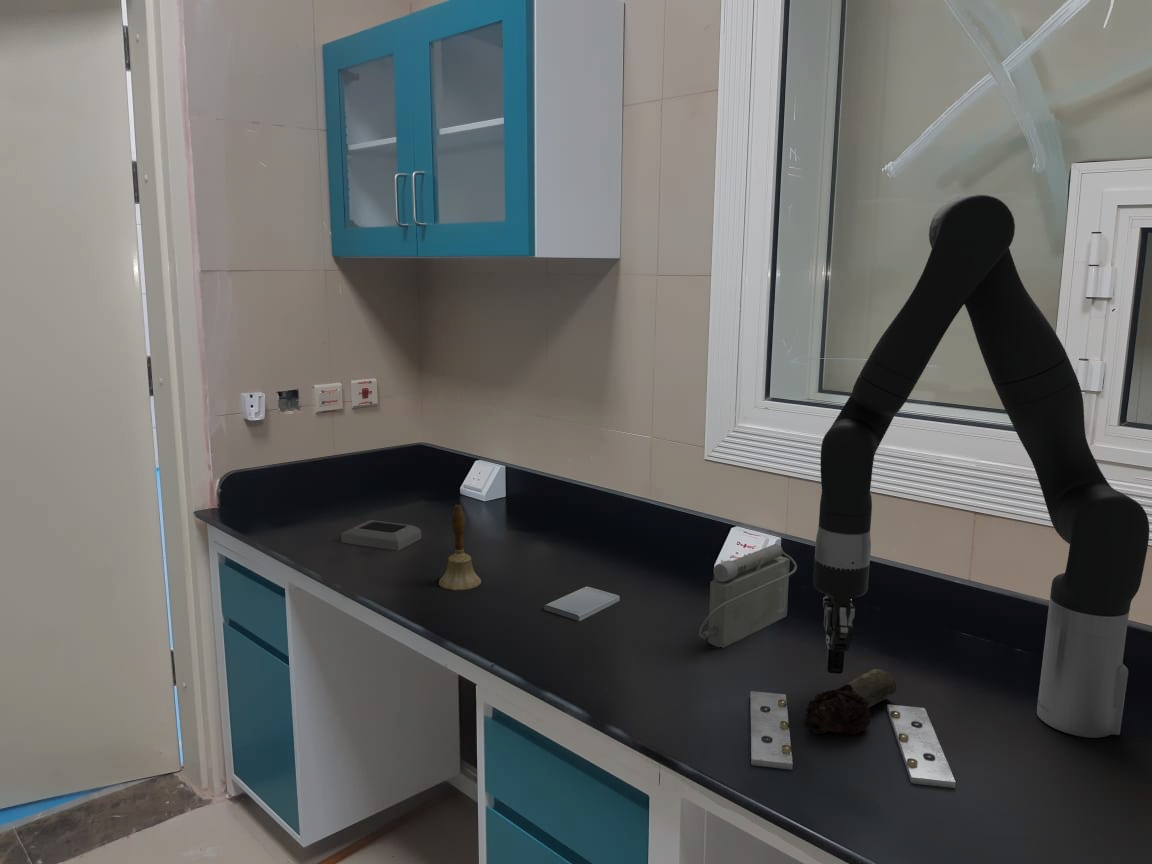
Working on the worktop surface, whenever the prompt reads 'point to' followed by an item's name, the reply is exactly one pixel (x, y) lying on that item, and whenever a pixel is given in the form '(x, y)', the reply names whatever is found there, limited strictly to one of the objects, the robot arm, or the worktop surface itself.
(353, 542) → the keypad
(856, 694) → the cylinder with dark lump
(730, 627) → the geiger counter
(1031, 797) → the worktop surface
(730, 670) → the worktop surface
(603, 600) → the hard drive
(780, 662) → the worktop surface
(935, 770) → the hinge leaves
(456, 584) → the hand bell
